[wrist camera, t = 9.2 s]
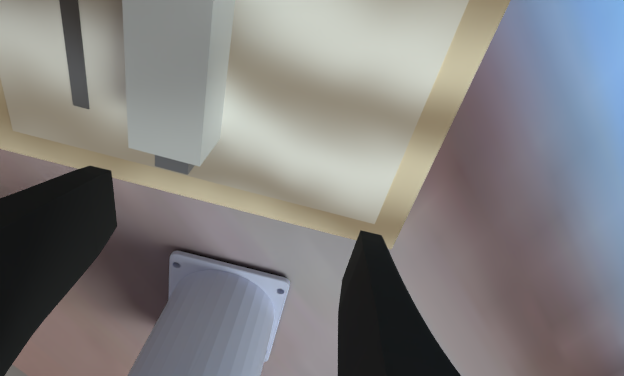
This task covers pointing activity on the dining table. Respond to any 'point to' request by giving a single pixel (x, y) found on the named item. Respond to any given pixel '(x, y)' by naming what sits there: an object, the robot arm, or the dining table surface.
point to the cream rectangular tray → (262, 102)
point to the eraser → (176, 77)
